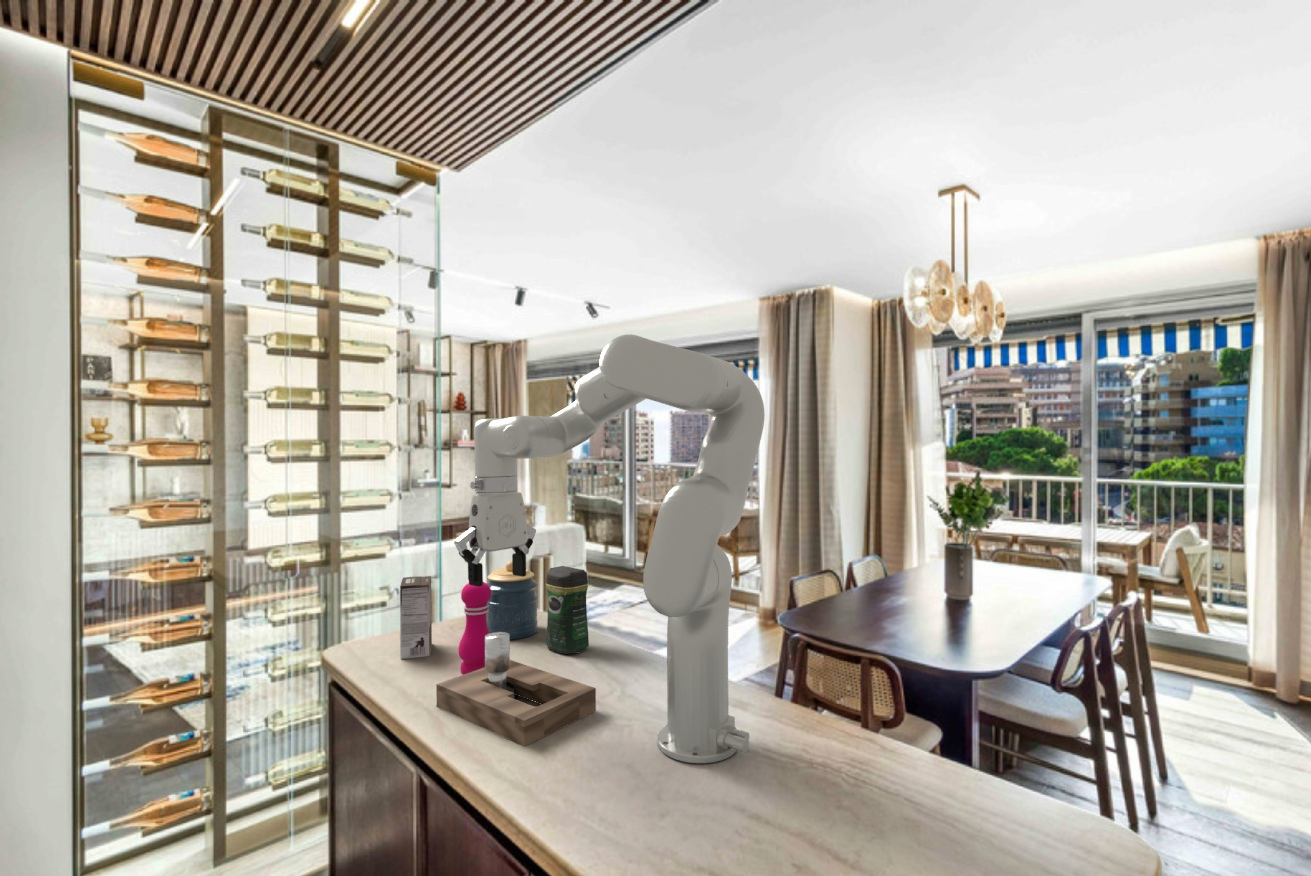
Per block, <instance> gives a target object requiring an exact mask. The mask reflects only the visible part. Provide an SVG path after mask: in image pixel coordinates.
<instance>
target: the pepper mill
mask: <svg viewBox="0 0 1311 876" xmlns="http://www.w3.org/2000/svg"><path fill="white" fill-rule="evenodd" d="M487 583H488V582H487ZM487 583H486V582H485V581H483V585H482V586H479V587H478V586H473V585H470V584H469V582H468V583H466V584H465V585H464V586H463V587H462V589H461V592H460V598H461V601H462V603H464V606H463V613H464V614H465V628H464V631H463V634H462V636H461V639H460V641H459V644H458V650H457V653H458V657H459V658H460V659H461V660H462V662H461V663H460V674H461V675H464V674H467V673H470V672H473V671H476V670H479V669H481V668H484V667H485V636H486V635H487V634H490V632H489V630H488V626H487V620H486V616H487V612H488V611H489V609H488V607H489V605H488V604H487V602H488V601H489V599H490V598H491V589H490V587H489V585H488V584H487Z"/></svg>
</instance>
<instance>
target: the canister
mask: <svg viewBox="0 0 1311 876" xmlns="http://www.w3.org/2000/svg"><path fill="white" fill-rule="evenodd" d="M534 576H535V573H534V572H532V571H531V570H529V569H528V568H526V576H523V577H522V576H516V575H513V571H512V560H511V561H510V560H509V561H506V564H505V567H502V568H498V569H495V570H493V572H491V573H489V574H488V575H487V577H486V578H487V579H488V582H487V584H488V585H489V587H490V589H491V598H490V599H489V601H488V602H487V604H488V605H489V607H488V609H489V611H488V612H487V616H486V620H487V626H488V630H489V632H490V633H495V632H506V633H509V634H510V641H511V640H518V639H523V638H527V637H531V636H532V635H534V634H535V633H536V632H537V631H538V630H537V629H538V626H539V620H538V597H539V595H537V592H536V588H537V586H538V581H536V580H534V578H533V577H534Z"/></svg>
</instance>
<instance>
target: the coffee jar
mask: <svg viewBox="0 0 1311 876" xmlns="http://www.w3.org/2000/svg"><path fill="white" fill-rule="evenodd" d="M545 578H546V579H545V587H546V591H547V592H546V593H547V620H546V621H547V624H546V626H547V627H546V643H545V645H546V647H547V649H549V650H550V649H551V651H554V652H557V653H558V654H559V653H560V654H564V655H569V654H579V653H582V652H583V651H585V650H586V649H588V648H589V646H590V645H589V642H590V641H589V638H590V637H589V628H588V625H589V624H588V610H587V609H588V608H587V593H588V589H589V579H588V572H587V571H586V570H584V569H580V568H575V567H570V566H565V565H561V566H554V567H551V568H549V570H548V571H547V573H546V577H545Z"/></svg>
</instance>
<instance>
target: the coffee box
mask: <svg viewBox="0 0 1311 876" xmlns="http://www.w3.org/2000/svg"><path fill="white" fill-rule="evenodd" d="M399 589H400V592H399V596H400V597H399V601H400V602H399V603H400V604H399V607H400V608H399V611H400V612H399V614H400V616H399V617H400V620H399V622H400V624H399V625H400V630H399V631H400V635H399V637H400V638H399V640H400V645H399V647H400V655H399V656H400V659H401V660H405V659H415V658H424V657H425V658H426V657H430V656H431V654H432V653H431V651H432V646H433V645H432V644H433V635H432V631H433V630H432V628H433V627H432V625H433V624H432V622H433V620H432V610H433V609H432V606H433V605H432V576H431V575H426V576H422V575H421V576H404V577H402V579H401V582H400V585H399Z"/></svg>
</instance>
